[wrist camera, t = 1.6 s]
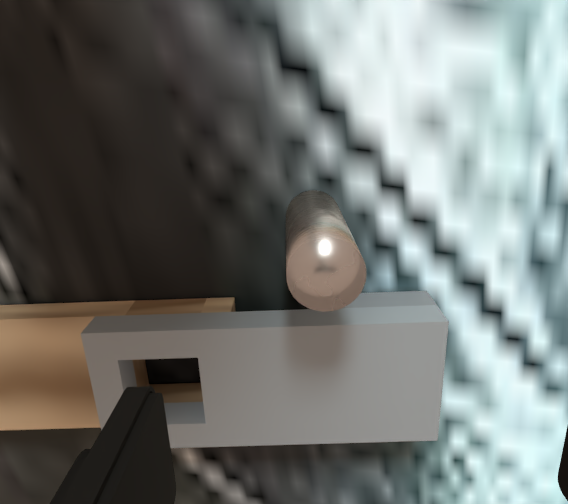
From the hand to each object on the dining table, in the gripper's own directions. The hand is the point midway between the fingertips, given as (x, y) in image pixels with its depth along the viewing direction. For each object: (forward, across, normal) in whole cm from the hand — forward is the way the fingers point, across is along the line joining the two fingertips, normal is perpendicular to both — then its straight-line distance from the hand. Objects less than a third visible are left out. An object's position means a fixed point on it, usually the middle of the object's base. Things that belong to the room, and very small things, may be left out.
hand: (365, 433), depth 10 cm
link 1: (+17, +15, +8) cm, 25 cm away
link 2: (+18, +3, +8) cm, 20 cm away
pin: (+17, 0, -1) cm, 17 cm away
